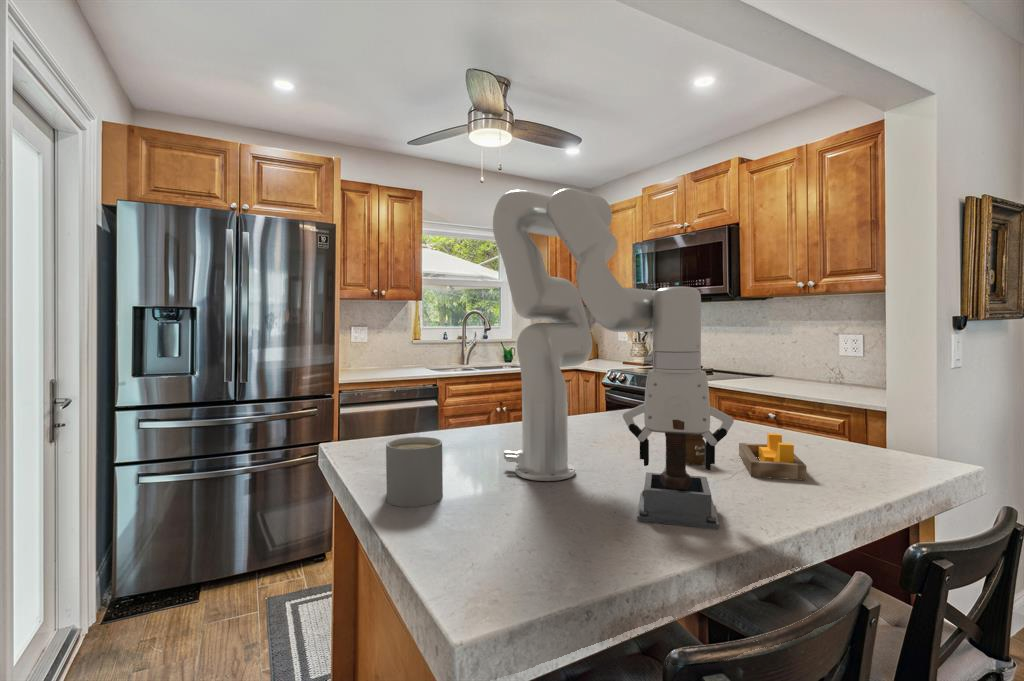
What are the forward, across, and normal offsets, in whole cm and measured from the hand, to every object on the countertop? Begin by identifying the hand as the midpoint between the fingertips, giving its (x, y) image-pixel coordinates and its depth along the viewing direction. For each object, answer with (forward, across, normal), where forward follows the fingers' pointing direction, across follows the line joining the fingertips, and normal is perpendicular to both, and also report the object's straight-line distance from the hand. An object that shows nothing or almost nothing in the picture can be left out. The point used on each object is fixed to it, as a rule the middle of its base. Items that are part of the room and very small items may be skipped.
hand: (676, 466), depth 83 cm
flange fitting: (+8, 0, +3) cm, 8 cm away
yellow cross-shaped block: (+8, +21, +34) cm, 41 cm away
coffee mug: (+8, -46, -4) cm, 47 cm away
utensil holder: (+8, +4, +34) cm, 35 cm away
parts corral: (+8, +20, +34) cm, 40 cm away
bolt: (+7, 0, 0) cm, 7 cm away
